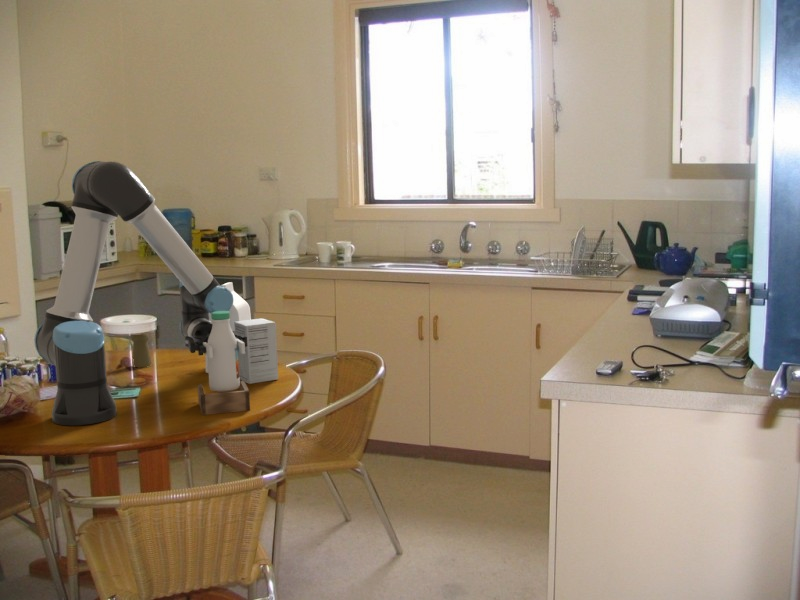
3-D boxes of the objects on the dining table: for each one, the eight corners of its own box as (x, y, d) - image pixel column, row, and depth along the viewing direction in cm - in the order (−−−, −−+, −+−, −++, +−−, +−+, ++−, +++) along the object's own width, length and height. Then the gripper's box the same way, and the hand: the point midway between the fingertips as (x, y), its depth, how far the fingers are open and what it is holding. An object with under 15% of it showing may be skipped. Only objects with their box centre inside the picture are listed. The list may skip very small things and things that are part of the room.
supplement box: (279, 379, 257) (276, 322, 254) (249, 384, 252) (246, 325, 249) (265, 373, 265) (263, 317, 262) (236, 377, 260) (233, 320, 257)
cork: (129, 365, 278) (126, 330, 276) (147, 362, 281) (145, 328, 280) (136, 369, 273) (133, 333, 271) (155, 366, 277) (152, 331, 275)
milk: (242, 373, 265) (238, 286, 261) (205, 372, 267) (201, 286, 263) (255, 364, 277) (251, 280, 273) (219, 363, 279) (215, 280, 275)
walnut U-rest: (201, 414, 223) (200, 395, 222) (198, 403, 234) (197, 384, 233) (250, 410, 227) (249, 391, 226) (245, 399, 237) (244, 380, 236)
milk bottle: (233, 392, 226) (228, 315, 222) (204, 392, 227) (199, 314, 224) (244, 384, 233) (240, 309, 230) (216, 384, 235) (212, 309, 231)
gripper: (241, 343, 249) (267, 359, 229) (167, 352, 240) (187, 370, 220) (240, 317, 248) (265, 331, 228) (165, 325, 239) (185, 340, 219)
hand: (227, 350), depth 224 cm, fingers closed on milk bottle, 8 cm apart
